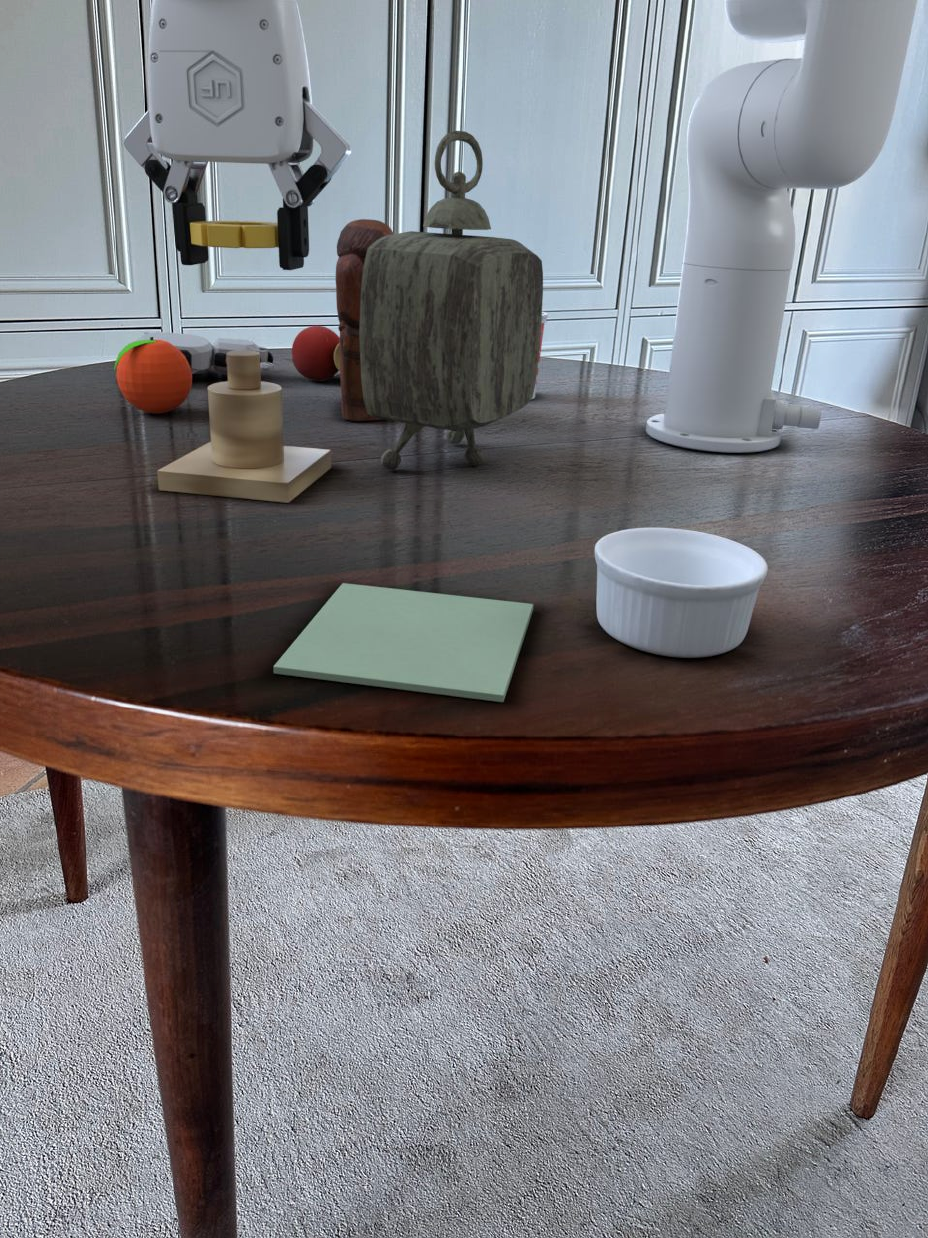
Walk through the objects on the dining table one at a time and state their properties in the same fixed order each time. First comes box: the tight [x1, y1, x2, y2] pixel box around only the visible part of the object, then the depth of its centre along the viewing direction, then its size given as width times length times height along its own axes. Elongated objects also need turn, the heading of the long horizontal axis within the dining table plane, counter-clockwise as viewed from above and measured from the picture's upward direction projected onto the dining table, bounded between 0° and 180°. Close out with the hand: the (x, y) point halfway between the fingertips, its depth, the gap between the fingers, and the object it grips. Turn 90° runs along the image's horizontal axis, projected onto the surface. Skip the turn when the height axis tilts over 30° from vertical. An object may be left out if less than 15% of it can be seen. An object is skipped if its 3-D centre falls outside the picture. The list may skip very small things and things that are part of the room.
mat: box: [273, 582, 534, 703], centre depth 51 cm, size 11×11×1 cm
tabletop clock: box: [359, 130, 544, 471], centre depth 78 cm, size 14×9×25 cm, turn 152°
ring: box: [190, 220, 279, 249], centre depth 69 cm, size 7×7×1 cm
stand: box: [156, 350, 332, 504], centre depth 74 cm, size 10×10×10 cm
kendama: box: [291, 325, 340, 382], centre depth 114 cm, size 8×6×18 cm
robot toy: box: [136, 331, 275, 376], centre depth 112 cm, size 12×4×15 cm
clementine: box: [113, 337, 193, 415], centre depth 94 cm, size 8×7×7 cm
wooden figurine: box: [335, 218, 395, 422], centre depth 97 cm, size 12×6×18 cm, turn 3°
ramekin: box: [594, 527, 769, 659], centre depth 52 cm, size 9×9×4 cm
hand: (243, 263), depth 70 cm, fingers closed on ring, 6 cm apart
